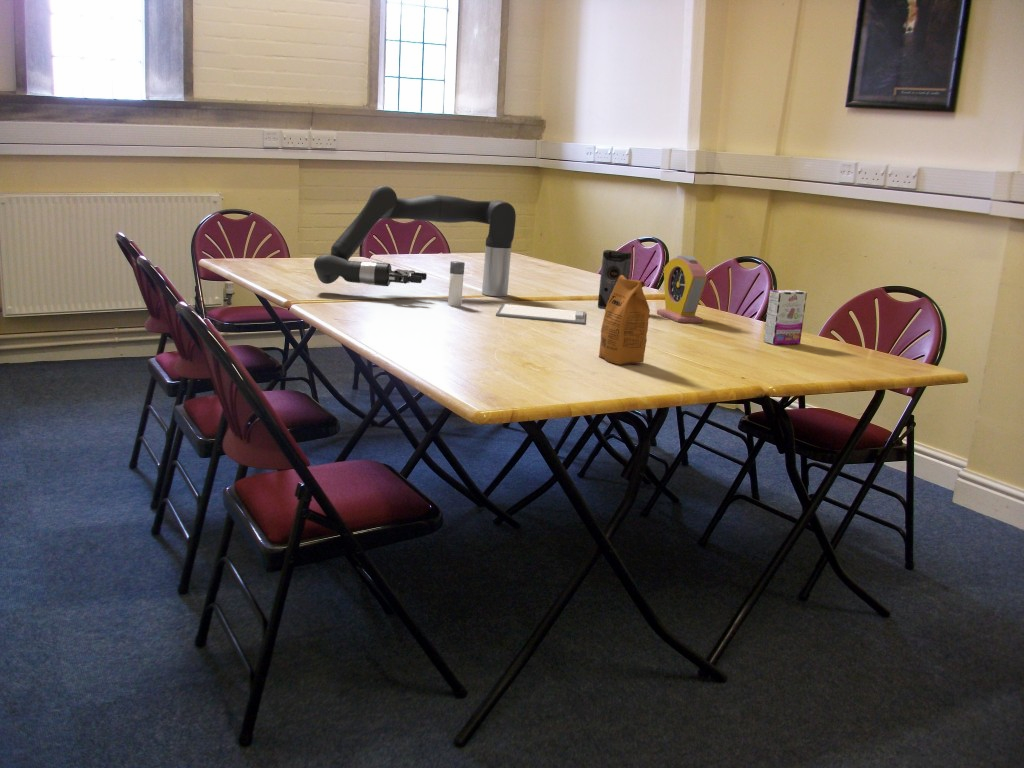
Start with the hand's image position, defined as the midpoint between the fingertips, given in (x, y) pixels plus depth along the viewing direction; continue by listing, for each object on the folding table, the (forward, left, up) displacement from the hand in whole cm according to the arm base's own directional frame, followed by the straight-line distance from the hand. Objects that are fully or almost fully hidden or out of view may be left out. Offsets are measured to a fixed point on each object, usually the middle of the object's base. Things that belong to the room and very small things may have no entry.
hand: (424, 278), depth 321 cm
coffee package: (+64, +64, -8) cm, 91 cm away
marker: (0, +11, -8) cm, 13 cm away
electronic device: (-25, +63, -8) cm, 68 cm away
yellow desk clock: (-17, +86, -8) cm, 88 cm away
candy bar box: (+13, +115, -8) cm, 116 cm away
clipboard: (+2, +40, -8) cm, 40 cm away
